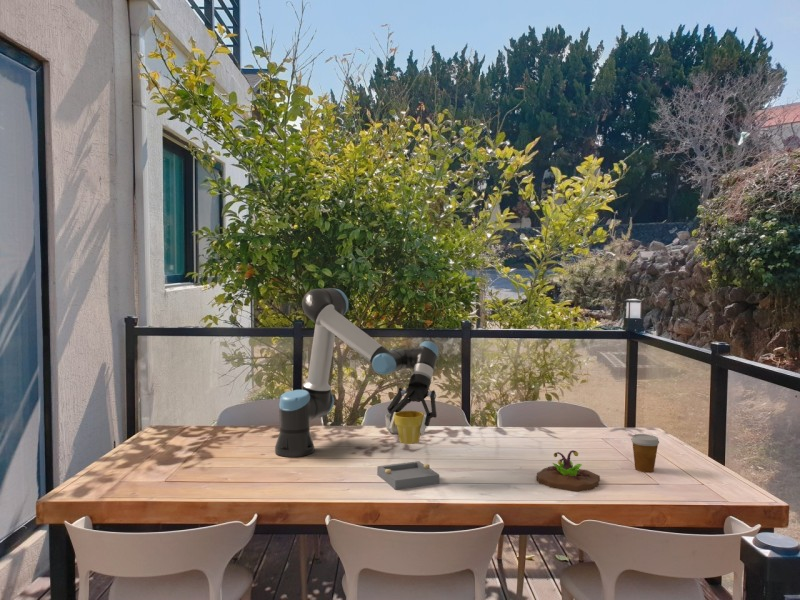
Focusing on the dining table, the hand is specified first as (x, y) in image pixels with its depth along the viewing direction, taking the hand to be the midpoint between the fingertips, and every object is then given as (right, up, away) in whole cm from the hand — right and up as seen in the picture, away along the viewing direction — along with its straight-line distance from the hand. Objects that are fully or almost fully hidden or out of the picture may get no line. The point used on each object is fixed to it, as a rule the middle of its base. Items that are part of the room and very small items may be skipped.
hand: (406, 431), depth 208 cm
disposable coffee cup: (+87, -17, +13) cm, 89 cm away
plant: (+55, -18, 0) cm, 58 cm away
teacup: (-3, -14, +65) cm, 66 cm away
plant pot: (+1, -4, +3) cm, 5 cm away
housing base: (0, -16, +1) cm, 16 cm away
